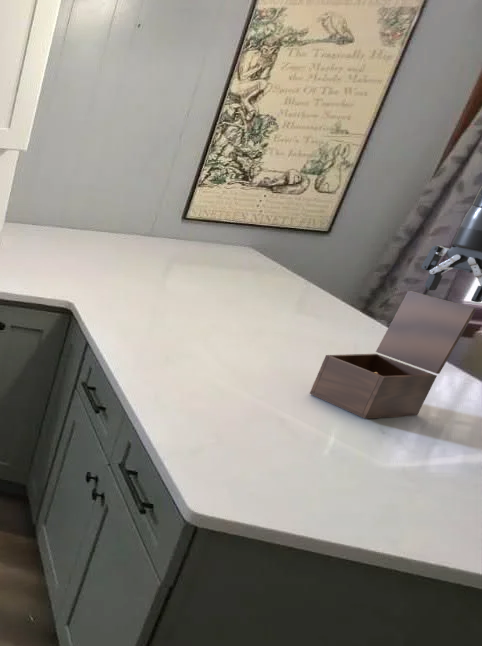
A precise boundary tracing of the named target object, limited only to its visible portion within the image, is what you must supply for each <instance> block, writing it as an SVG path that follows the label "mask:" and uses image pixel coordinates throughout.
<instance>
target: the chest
mask: <svg viewBox="0 0 482 646" xmlns="http://www.w3.org/2000/svg"><path fill="white" fill-rule="evenodd" d="M374 372H377V373H378V374H376V373H374ZM437 377H438V374H435V373H432V372H429V371H426V370H424V369H421V368H418V367H415V366H413V365H410V364H407V363H404V362H402V361H399V360H396V359H393V358H390V357H388V356H385V355H382V354H379V353H350V354H349V353H347V354H325V357H324V359H323V361H322V363H321V366H320V369H319V370H318V372H317V374H316V377H315V380H314V382H313V384H312V387H311V389H310V391H309V395H311V396H314V397H316V398H318V399H321V400H323V401H325V402H327V403H329V404H331V405H333V406H335V407H338V408H340V409H343V410H345V411H347V412H349V413H351V414H354V415H356V416H358V417H361V418H363V419H365V420H366V419H386V418H387V419H389V418H403V417H404V418H405V417H414V416H418V414H419V413H420V410H421V408H422V406H423V405H424V403H425V400H426V399H427V397H428V394H429V393H430V391H431V389H432V387H433V386H434V385H433V384H434V383H435V381H436V379H437Z"/></svg>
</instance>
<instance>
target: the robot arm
mask: <svg viewBox="0 0 482 646" xmlns="http://www.w3.org/2000/svg"><path fill="white" fill-rule="evenodd" d="M472 202H473V203H472V205H471V206H470V208H469V209H468V210H467V212H466V214H465V215H464V217H463V219H462V221H461V223H460V226H459V228H458V229H457V232H456V234H455V237H454V238H453V241H452V245H451V247H450V248H449V247H446V246H445V245H433V246H432V247H430V250H429V251H428V254H427V256H426V257H425V259H424V261H423V262H422V265H421V269H422V270H423V271H424V270H425V271H427V272H428V273H429V275H428V277H427V279H426V281H425V283H424V287H425V290H427V291H436V290H437V289H438V287H439V285H440V283H441V280H442V278H443V274H444V273H447V272H448V271H450V270H456V271H464V272H465V273H471V274H473V275H474V277H475V278H477V281H478V283H479V285H477V287H476V289H475V291H474V293H473V295H472V297H471V302H474V303H481V302H482V185H481V186H480V188H479V190H478V192H477V194H476V196H475V198H474V200H473V201H472ZM445 255H446V257H447V259H446V260H444V261H442V262H440V260H441V258H442V257H443V256H445ZM439 262H440V263H439Z"/></svg>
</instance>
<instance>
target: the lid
mask: <svg viewBox="0 0 482 646" xmlns="http://www.w3.org/2000/svg"><path fill="white" fill-rule="evenodd" d="M476 311H477V308H476V307H473V306H468V305H465V304H461V303H458V302H454V301H451V300H447V299H443V298H439V297H435V296H432V295H428V294H424V293H420V292H416V291H414V290H407V292H406V294H405V296H404V298H403V300H402V302H401V303H400V305H399V307H398V309H397V310H396V313H395V315H394V317H393V318H392V319H391V320H392V321H391V322H390V324H389V326H388V328H387V330H386V331H385V334H384V335H383V337H382V339H381V341H380V343H379V345H378V347H377V348H376V350H375V353H377V354H379V355H382V356H385V357H388V358H391V359H393V360H396V361H399V362H402V363H404V364H407V365H410V366H413V367H416V368H418V369H421V370H424V371H427V372H430V373H432V374H435V375H440V374H441V372H442V370H443V368H444V366H445V365H446V363H447V362H448V359H449V358H450V356H451V354H452V353H453V351H454V350H455V347H456V346H457V344H458V342H459V340H460V339H461V337H462V336H463V334H464V332H465V330H466V328H467V326H468V325H469V323H470V321H471V320H472V318H473V316H474V314H475V313H476Z"/></svg>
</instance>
